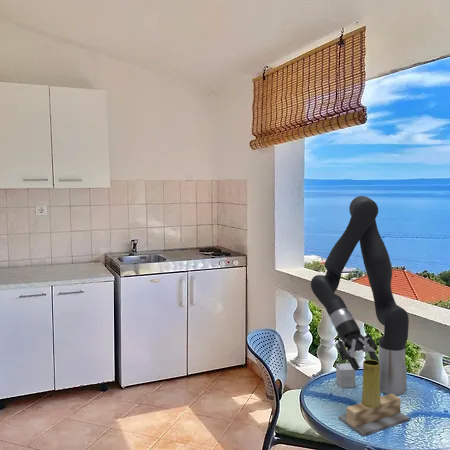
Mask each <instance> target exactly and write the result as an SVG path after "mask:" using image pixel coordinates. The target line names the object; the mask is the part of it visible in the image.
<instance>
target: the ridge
mask: <svg viewBox="0 0 450 450" xmlns="http://www.w3.org/2000/svg"><path fill="white" fill-rule="evenodd" d="M380 403H381V404H380V406H378V407H375V408H372V407H367V406H365V405H363V404H362V402H360V403H359V402H358V403H356V404H353V405H349V406H346V411H345V412H346V413H344V414H340V415H338V420H339V421H340V422H342V423H344V424H345V426H348V427H350V428H351V429H352V430H353V431H355V432H356V433H357V434H359V435H360V436H362V437H365V436H366V437H367V436H369V435H371V434H375V433H377V432H380V431H383V430H386V429H389V428H392V427H394V426H397V425H401V424H403V423H406V422H409V421H410V417H409V416H407V415H406V414H404V413H402V412H401V406H402V405H401V397H399V396H398V395H394V394H386V395H385V394H384V395H382V396H380Z"/></svg>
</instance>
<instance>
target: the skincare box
mask: <svg viewBox="0 0 450 450" xmlns="http://www.w3.org/2000/svg"><path fill="white" fill-rule="evenodd" d="M335 373H336V374H335V375H336V381H335V382H336V383H337V385H338V386H339V388H340V389H345V388H347V389H348V388H356V370H354V369H353V368H352V366H351V364H350V362H348V363H347V362H346V363H345V362H344V363H336V364H335Z"/></svg>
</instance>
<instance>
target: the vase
mask: <svg viewBox="0 0 450 450" xmlns="http://www.w3.org/2000/svg"><path fill="white" fill-rule="evenodd" d="M362 366H363V367H362V387H361V388H362V390H361V391H362V392H361V402H360V403H362V404H363V405H365V406H367V407H372V408H375V407H378V406H380V404H381V403H380V397H381V391H380V363H379V362H378V361H376V360H371V358H369V359H365V360H363V362H362Z"/></svg>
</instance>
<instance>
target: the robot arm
mask: <svg viewBox="0 0 450 450" xmlns="http://www.w3.org/2000/svg"><path fill="white" fill-rule="evenodd" d="M349 204H350V205H349V207H348V208H349V214H350V220H349V221H348V225H347V227H346V228H345V230H344V232H343V233H342V235H341V236H340V237H339V239H338V240H337V241H336V243H334V245H333V247H332V248H331V250H330V252H329V254H328V256H327V258H326V260H325V261H324V264H323V265H324V268H325V269H326V273H325V274H323V275H322V274H317V275H314V276H313V277H312V279H311V280H310V288H311V290H312V293H313V294H314V295H315V297H316V298H317V300H318V301H319V302H320V303H321V304H322V306H323V307H324V308H325V311H326V313H327V314H328V316H329V318H330V322H331V323H332V325H333V328H334V330H335V331H336V333H337V336H338V337H339V339H340V340H338V341H337V342H336V343H335V346H336V348H337V351H338V353H339V355H340V357H341V359H342V360H344V361H345V360H347V361H348V363H350V364H351V366H352V368H353V369H354V370H355V371H358V370H359V369H360V366H359V363H358V362H357V359H356V358H355V357H354V355H355V354H354V353H355V352H360V351H362V352H365V353H366V354H367V355H369V359H371V360H376V361H378V362H379V363H380V392H382V393H384V394H386V395H388V394H394V395H396V396H399V395H403V394H404V393H405V392H406V391H407V379H408V378H407V376H408V375H407V374H408V369H407V368H408V367H407V365H406V344H407V341H408V340H409V339H408V338H409V324H410V323H409V322H410V319H409V314H408V312H407V311H406V309H405V308H403V307H401V306H400V305H397V303H396V301H395V298H394V295H393V292H392V279H393V267H392V263H391V259H390V255H389V252H388V249H387V247H386V245H385V242H384V240H383V238H382V236H381V234H380V232H379V229H378V225H377V220H376V218H377V217H378V214H379V206H378V203H377V202H376V201H374V200H373V199H372V198H370V197H368V196H363V195H359V196H356V197H354V198H353V199H352V201H351V202H350V203H349ZM358 243H359V245H360V251H361V256H362V260H363V264H364V270H365V272H366V275H367V278H368V282H369V286H370V289H371V292H372V297H373V303H374V308H375V309H374V310H375V315H376V318H377V319H376V320H377V321H378V323H380V324H381V325H382V326H383V329H384V330H383V335H382V336H380V338H379V342H378V345H379V346H378V345H377V344H376V343H375V340H374V339H373V337H372V336H371V334H370V333H367V334H366V335H364V336H363V335H362V334H361V329H360V327H359V325H358V324H357V322H356V320H355V319H354V318H355V317H354V316H353V314H352V313H351V311H350V310H349V308H348V306H347V305H346V304H345V302H344V299H342V297H341V296H339V295H338V294H336V293H335V292H337V289H338V287H339V285H340V282H341V278H342V273H343V271H344V269H345V267H346V265H347V263H348V262H349V260H350V258H351V256H352V254H353V252H354V251H355V248H356V247H357V245H358ZM346 348H347V349H346ZM377 350H378V356H377V354H376V351H377Z"/></svg>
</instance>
